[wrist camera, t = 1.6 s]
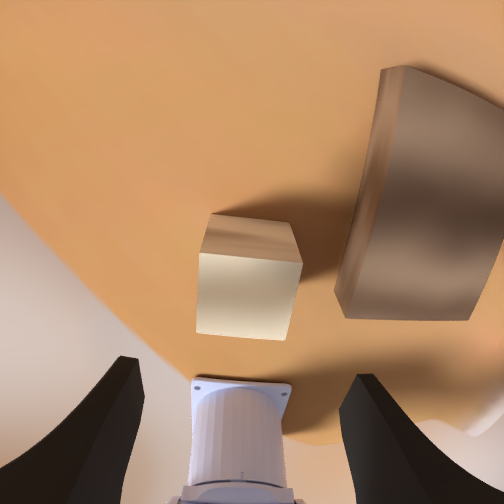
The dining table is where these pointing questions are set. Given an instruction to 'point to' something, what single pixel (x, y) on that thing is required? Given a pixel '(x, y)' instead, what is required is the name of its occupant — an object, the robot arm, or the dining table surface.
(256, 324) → the beech block
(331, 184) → the dining table surface
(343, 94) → the dining table surface
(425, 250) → the walnut slab
